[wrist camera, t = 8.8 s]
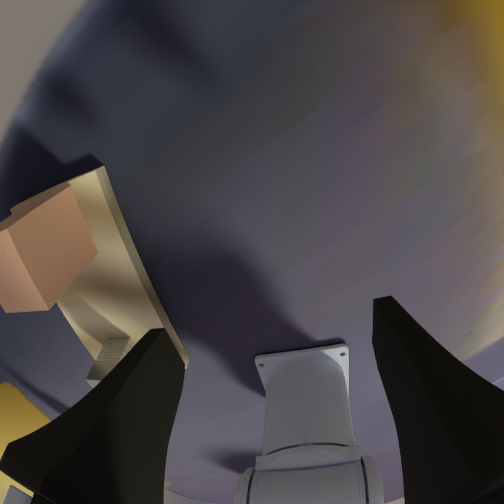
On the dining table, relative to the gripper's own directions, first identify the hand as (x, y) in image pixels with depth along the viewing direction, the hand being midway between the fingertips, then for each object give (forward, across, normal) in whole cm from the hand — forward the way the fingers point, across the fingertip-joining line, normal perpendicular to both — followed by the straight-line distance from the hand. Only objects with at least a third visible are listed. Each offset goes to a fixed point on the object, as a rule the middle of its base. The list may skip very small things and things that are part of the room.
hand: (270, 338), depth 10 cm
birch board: (+10, +15, +3) cm, 18 cm away
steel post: (+9, +15, +9) cm, 20 cm away
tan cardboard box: (+9, +15, -3) cm, 18 cm away
